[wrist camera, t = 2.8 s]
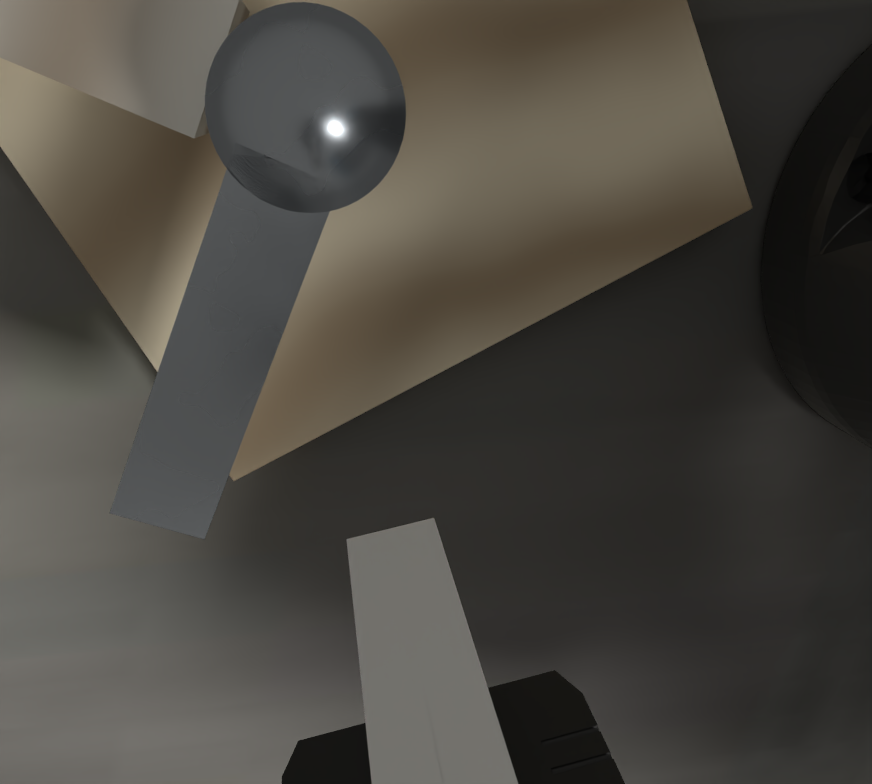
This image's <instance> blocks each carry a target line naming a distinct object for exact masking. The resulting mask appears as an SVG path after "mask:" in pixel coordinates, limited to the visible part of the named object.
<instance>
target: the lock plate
mask: <svg viewBox="0 0 872 784" xmlns="http://www.w3.org/2000/svg"><path fill="white" fill-rule="evenodd" d="M290 2H308V3H317V4H321V5H325V6H329V7H332V8H334V9H337V10H339V11H342V12H344V13H346V14H348V15H349V16H351V17H353V18H355V19H356V20H357V21H359V22H360V23H361V24H363V25H364V26H365V27H367V28H368V29H369V30H370V31H371V32H372V33H373V34H374V35H375V36H376V37H377V38H378V39H379V41H380V42H381V43H382V45H383V46H384V47H385V48H386V50H387V52H388V53H389V55H390V57H391V58H392V60H393V62H394V64H395V66H396V68H397V71H398V73H399V76H400V79H401V82H402V86H403V90H404V96H405V103H406V123H405V131H404V136H403V141H402V144H401V147H400V150H399V153H398V155H397V157H396V160H395V162H394V164H393V165H392V167H391V169H390V170H389V172H388V173H387V175H386V176H385V177H384V178H383V180H382V181H381V182H380V183H379V184H378V185H377V186H376V187H375V188H374V189H373V190H372V191H371V192H370V193H368V194H367V195H365V196H364V197H363V198H361V199H360V200H358V201H356V202H354V203H352V204H350V205H348V206H346V207H343V208H340V209H337V210H333V211H330V212H329V215H328V217H327V220H326V223H325V225H324V228H323V230H322V233H321V236H320V238H319V241H318V244H317V246H316V249H315V251H314V254H313V257H312V259H311V262H310V264H309V267H308V270H307V272H306V275H305V278H304V280H303V283H302V285H301V288H300V291H299V293H298V296H297V298H296V301H295V304H294V306H293V309H292V312H291V314H290V317H289V319H288V322H287V325H286V327H285V330H284V332H283V335H282V338H281V340H280V343H279V346H278V348H277V351H276V353H275V356H274V359H273V361H272V364H271V366H270V369H269V372H268V374H267V377H266V380H265V382H264V385H263V387H262V390H261V393H260V395H259V398H258V401H257V403H256V406H255V408H254V411H253V414H252V416H251V419H250V421H249V424H248V427H247V429H246V432H245V435H244V437H243V440H242V442H241V445H240V448H239V450H238V453H237V455H236V458H235V461H234V463H233V466H232V469H231V471H230V474H229V475H230V477H231V478H232V480H233V481H235V480H237V479H239V478H241V477H243V476H245V475H247V474H249V473H250V472H252V471H254V470H256V469H258V468H260V467H262V466H264V465H266V464H268V463H269V462H271V461H273V460H275V459H277V458H279V457H281V456H283V455H285V454H287V453H288V452H290V451H292V450H294V449H296V448H298V447H300V446H302V445H304V444H306V443H307V442H309V441H311V440H313V439H315V438H317V437H319V436H321V435H323V434H325V433H326V432H328V431H330V430H332V429H334V428H336V427H338V426H340V425H342V424H344V423H345V422H347V421H349V420H351V419H353V418H355V417H357V416H359V415H361V414H363V413H364V412H366V411H368V410H370V409H372V408H374V407H376V406H378V405H380V404H382V403H383V402H385V401H387V400H389V399H391V398H393V397H395V396H397V395H399V394H401V393H402V392H404V391H406V390H408V389H410V388H412V387H414V386H416V385H418V384H420V383H421V382H423V381H425V380H427V379H429V378H431V377H433V376H435V375H437V374H439V373H440V372H442V371H444V370H446V369H448V368H450V367H452V366H454V365H456V364H458V363H459V362H461V361H463V360H465V359H467V358H469V357H471V356H473V355H475V354H477V353H478V352H480V351H482V350H484V349H486V348H488V347H490V346H492V345H494V344H496V343H497V342H499V341H501V340H503V339H505V338H507V337H509V336H511V335H513V334H515V333H516V332H518V331H520V330H522V329H524V328H526V327H528V326H530V325H532V324H534V323H535V322H537V321H539V320H541V319H543V318H545V317H547V316H549V315H551V314H553V313H554V312H556V311H558V310H560V309H562V308H564V307H566V306H568V305H570V304H572V303H573V302H575V301H577V300H579V299H581V298H583V297H585V296H587V295H589V294H591V293H592V292H594V291H596V290H598V289H600V288H602V287H604V286H606V285H608V284H610V283H611V282H613V281H615V280H617V279H619V278H621V277H623V276H625V275H627V274H629V273H630V272H632V271H634V270H636V269H638V268H640V267H642V266H644V265H646V264H648V263H649V262H651V261H653V260H655V259H657V258H659V257H661V256H663V255H665V254H667V253H668V252H670V251H672V250H674V249H676V248H678V247H680V246H682V245H684V244H686V243H687V242H689V241H691V240H693V239H695V238H697V237H699V236H701V235H703V234H705V233H706V232H708V231H710V230H712V229H714V228H716V227H718V226H720V225H722V224H724V223H725V222H727V221H729V220H731V219H733V218H735V217H737V216H739V215H741V214H743V213H744V212H746V211H748V210H750V209H752V208H753V207H752V204H751V201H750V198H749V195H748V192H747V188H746V185H745V182H744V179H743V176H742V173H741V169H740V166H739V163H738V160H737V157H736V154H735V151H734V147H733V144H732V141H731V138H730V135H729V132H728V128H727V125H726V122H725V119H724V116H723V113H722V110H721V106H720V103H719V100H718V97H717V94H716V91H715V87H714V84H713V81H712V78H711V75H710V72H709V69H708V65H707V62H706V59H705V56H704V53H703V50H702V46H701V43H700V40H699V37H698V34H697V31H696V28H695V24H694V21H693V18H692V15H691V12H690V9H689V5H688V2H687V0H0V147H1V148H2V150H3V151H4V152H5V154H6V155H7V157H8V158H9V160H10V161H11V162H12V164H13V165H14V167H15V168H16V170H17V171H18V172H19V174H20V175H21V177H22V178H23V180H24V181H25V183H26V184H27V185H28V187H29V188H30V190H31V191H32V193H33V194H34V195H35V197H36V198H37V200H38V201H39V203H40V204H41V205H42V207H43V208H44V210H45V211H46V213H47V214H48V216H49V217H50V218H51V220H52V221H53V223H54V224H55V226H56V227H57V228H58V230H59V231H60V233H61V234H62V236H63V237H64V239H65V240H66V241H67V243H68V244H69V246H70V247H71V249H72V250H73V251H74V253H75V254H76V256H77V257H78V259H79V260H80V261H81V263H82V264H83V266H84V267H85V269H86V270H87V272H88V273H89V274H90V276H91V277H92V279H93V280H94V282H95V283H96V284H97V286H98V287H99V289H100V290H101V292H102V293H103V294H104V296H105V297H106V299H107V300H108V302H109V303H110V305H111V306H112V307H113V309H114V310H115V312H116V313H117V315H118V316H119V317H120V319H121V320H122V322H123V323H124V325H125V326H126V327H127V329H128V330H129V332H130V333H131V335H132V336H133V338H134V339H135V340H136V342H137V343H138V345H139V346H140V348H141V349H142V350H143V352H144V353H145V355H146V356H147V358H148V359H149V361H150V362H151V363H152V365H153V366H154V368H155V369H156V371H157V372H158V370H159V367H160V364H161V361H162V358H163V355H164V352H165V349H166V346H167V343H168V340H169V337H170V334H171V331H172V328H173V325H174V322H175V320H176V317H177V314H178V311H179V308H180V305H181V302H182V299H183V296H184V293H185V290H186V287H187V284H188V281H189V278H190V275H191V272H192V270H193V267H194V264H195V261H196V258H197V255H198V252H199V249H200V246H201V243H202V240H203V237H204V234H205V231H206V228H207V225H208V222H209V220H210V217H211V214H212V211H213V208H214V205H215V202H216V199H217V196H218V193H219V190H220V187H221V184H222V181H223V178H224V175H225V172H226V170H227V168H226V167H225V166H224V164H223V163H222V161H221V159H220V157H219V156H218V154H217V152H216V150H215V147H214V145H213V142H212V140H211V137H210V134H209V130H208V126H207V121H206V114H205V90H206V82H207V78H208V74H209V70H210V67H211V65H212V62H213V60H214V57H215V55H216V53H217V51H218V50H219V48H220V46H221V44H222V43H223V42H224V40H225V39H226V38H227V37H228V35H229V34H230V33H231V32H232V31H233V30H234V29H235V28H236V27H237V26H238V25H239V24H240V23H241V22H243V21H244V20H246V19H247V18H248V17H250V16H251V15H253V14H255V13H257V12H259V11H261V10H263V9H266V8H269V7H272V6H275V5H279V4H284V3H290Z"/></svg>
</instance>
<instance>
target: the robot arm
mask: <svg viewBox="0 0 872 784" xmlns="http://www.w3.org/2000/svg"><path fill="white" fill-rule="evenodd" d="M761 282H762V300H763V308H764V315H765V320H766V325H767V330H768V333H769V337H770V340H771V344H772V346H773V349H774V351H775V354H776V357H777V359H778V361H779V363H780V365H781V367H782V369H783V371H784V373H785V375H786V376H787V378H788V380H789V381H790V383H791V384H792V386H793V387H794V388H795V390H796V391H797V392H798V394H799V395H800V396H801V397H802V398H803V399H804V401H805V402H806V403H807V404H808V405H809V406H810V407H811V408H812V409H814V410H815V411H816V412H817V413H818V414H819V415H820V416H822V417H823V418H824V419H826V420H827V421H828V422H830V423H832V424H833V425H835V426H836V427H838V428H840V429H841V430H843V431H845V432H846V433H848V434H849V435H851V436H853V437H854V438H856V439H858V440H859V441H861V442H862V443H864V444H866V445H867V446H869V447H871V448H872V45H871V46H870V47H869V48H868V49H867V50H866V51H865V52H864V53H863V54H862V55H861V56H860V57H859V58H858V59H857V60H856V61H855V62H854V63H853V64H852V65H851V66H850V67H849V68H848V69H847V71H846V72H845V73H844V74H843V75H842V76H841V77H840V78H839V80H838V81H837V82H836V83H835V85H834V86H833V87H832V88H831V90H830V91H829V92H828V94H827V95H826V96H825V98H824V99H823V100H822V102H821V103H820V105H819V106H818V108H817V109H816V111H815V112H814V114H813V115H812V117H811V118H810V120H809V122H808V123H807V125H806V127H805V128H804V130H803V132H802V133H801V135H800V137H799V139H798V141H797V143H796V145H795V147H794V149H793V151H792V153H791V155H790V157H789V159H788V162H787V164H786V166H785V168H784V171H783V174H782V176H781V179H780V182H779V184H778V187H777V190H776V193H775V196H774V200H773V203H772V206H771V210H770V214H769V218H768V223H767V227H766V233H765V239H764V246H763V256H762V276H761ZM346 540H347V550H348V559H349V569H350V579H351V588H352V598H353V608H354V617H355V627H356V637H357V646H358V656H359V666H360V675H361V685H362V695H363V704H364V714H365V723H364V724H360V725H356V726H352V727H349V728H345V729H341V730H337V731H334V732H330V733H326V734H322V735H319V736H315V737H311V738H307V739H303V740H300V741H298V743H297V745H296V747H295V749H294V752H293V754H292V756H291V758H290V760H289V763H288V765H287V767H286V769H285V771H284V773H283V776H282V784H625V783H624V781H623V779H622V776H621V774H620V772H619V770H618V768H617V766H616V764H615V762H614V759H612V757H611V754H610V751H609V749H608V747H607V745H606V742H605V740H604V738H603V736H602V734H601V732H599V730H598V726H597V723H596V721H595V719H594V717H593V715H592V713H591V711H590V709H589V706H588V704H587V702H586V700H585V698H584V696H583V694H582V693H581V692H580V691H579V690H578V689H576V688H575V687H574V686H573V685H572V684H571V683H569V682H568V681H567V680H566V679H565V678H563V677H562V676H561V675H560V674H559V673H558V672H556V671H555V670H554V671H551V672H547V673H543V674H539V675H535V676H532V677H528V678H524V679H520V680H517V681H513V682H509V683H505V684H501V685H498V686H494V687H490V688H488V687H487V683H486V680H485V677H484V674H483V671H482V668H481V665H480V661H479V658H478V655H477V652H476V649H475V646H474V642H473V639H472V636H471V633H470V630H469V627H468V623H467V620H466V617H465V614H464V611H463V608H462V604H461V601H460V598H459V595H458V592H457V589H456V586H455V582H454V579H453V576H452V573H451V570H450V567H449V563H448V560H447V557H446V554H445V551H444V548H443V544H442V541H441V538H440V535H439V532H438V529H437V526H436V522H435V519H434V518H431V519H427V520H423V521H418V522H414V523H410V524H406V525H402V526H398V527H394V528H390V529H386V530H382V531H378V532H373V533H369V534H365V535H361V536H357V537H353V538H349V539H346Z"/></svg>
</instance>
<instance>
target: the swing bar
mask: <svg viewBox="0 0 872 784" xmlns="http://www.w3.org/2000/svg"><path fill="white" fill-rule="evenodd" d="M205 114H206V121H207V126H208V130H209V134H210V137H211V140H212V142H213V145H214V147H215V150H216V152H217V154H218V156H219V157H220V159H221V161H222V163H223V164H224V166H225V167H226V168H227V170H226V172H225V175H224V178H223V181H222V184H221V187H220V190H219V193H218V196H217V199H216V202H215V205H214V208H213V211H212V214H211V217H210V220H209V222H208V225H207V228H206V231H205V234H204V237H203V240H202V243H201V246H200V249H199V252H198V255H197V258H196V261H195V264H194V267H193V270H192V272H191V275H190V278H189V281H188V284H187V287H186V290H185V293H184V296H183V299H182V302H181V305H180V308H179V311H178V314H177V317H176V320H175V322H174V325H173V328H172V331H171V334H170V337H169V340H168V343H167V346H166V349H165V352H164V355H163V358H162V361H161V364H160V367H159V370H158V372H157V375H156V378H155V381H154V384H153V387H152V390H151V393H150V396H149V399H148V402H147V405H146V408H145V411H144V414H143V417H142V420H141V422H140V425H139V428H138V431H137V434H136V437H135V440H134V443H133V446H132V449H131V452H130V455H129V458H128V461H127V464H126V467H125V469H124V472H123V475H122V478H121V481H120V484H119V487H118V490H117V493H116V496H115V499H114V502H113V505H112V508H111V511H110V513H111V514H114V515H118V516H122V517H125V518H129V519H132V520H136V521H140V522H143V523H147V524H150V525H154V526H158V527H161V528H165V529H169V530H172V531H176V532H179V533H183V534H187V535H190V536H194V537H197V538H201V539H205V537H206V534H207V531H208V529H209V526H210V524H211V521H212V518H213V516H214V513H215V510H216V508H217V505H218V503H219V500H220V497H221V495H222V492H223V489H224V487H225V484H226V482H227V479H228V476H229V474H230V471H231V469H232V466H233V463H234V461H235V458H236V455H237V453H238V450H239V448H240V445H241V442H242V440H243V437H244V435H245V432H246V429H247V427H248V424H249V421H250V419H251V416H252V414H253V411H254V408H255V406H256V403H257V401H258V398H259V395H260V393H261V390H262V387H263V385H264V382H265V380H266V377H267V374H268V372H269V369H270V366H271V364H272V361H273V359H274V356H275V353H276V351H277V348H278V346H279V343H280V340H281V338H282V335H283V332H284V330H285V327H286V325H287V322H288V319H289V317H290V314H291V312H292V309H293V306H294V304H295V301H296V298H297V296H298V293H299V291H300V288H301V285H302V283H303V280H304V278H305V275H306V272H307V270H308V267H309V264H310V262H311V259H312V257H313V254H314V251H315V249H316V246H317V244H318V241H319V238H320V236H321V233H322V230H323V228H324V225H325V223H326V220H327V217H328V215H329V212H330V211H333V210H337V209H340V208H343V207H346V206H348V205H350V204H352V203H354V202H356V201H358V200H360V199H361V198H363V197H364V196H365V195H367V194H368V193H370V192H371V191H372V190H373V189H374V188H375V187H376V186H377V185H378V184H379V183H380V182H381V181H382V180H383V178H384V177H385V176H386V175H387V173H388V172H389V170H390V169H391V167H392V165H393V164H394V162H395V160H396V157H397V155H398V153H399V150H400V147H401V144H402V141H403V136H404V131H405V123H406V103H405V96H404V90H403V86H402V82H401V79H400V76H399V73H398V71H397V68H396V66H395V64H394V62H393V60H392V58H391V57H390V55H389V53H388V52H387V50H386V48H385V47H384V46H383V45H382V43H381V42H380V41H379V39H378V38H377V37H376V36H375V35H374V34H373V33H372V32H371V31H370V30H369V29H368V28H367V27H365V26H364V25H363V24H361V23H360V22H359V21H357V20H356V19H355V18H353V17H351V16H349V15H348V14H346V13H344V12H342V11H339V10H337V9H334V8H332V7H329V6H325V5H321V4H317V3H308V2H290V3H284V4H279V5H275V6H272V7H269V8H266V9H263V10H261V11H259V12H257V13H255V14H253V15H251V16H250V17H248V18H247V19H246V20H244V21H243V22H241V23H240V24H239V25H238V26H237V27H236V28H235V29H234V30H233V31H232V32H231V33H230V34H229V35H228V37H227V38H226V39H225V40H224V42H223V43H222V44H221V46H220V48H219V50H218V51H217V53H216V55H215V57H214V60H213V62H212V65H211V67H210V70H209V74H208V78H207V82H206V90H205Z"/></svg>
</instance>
